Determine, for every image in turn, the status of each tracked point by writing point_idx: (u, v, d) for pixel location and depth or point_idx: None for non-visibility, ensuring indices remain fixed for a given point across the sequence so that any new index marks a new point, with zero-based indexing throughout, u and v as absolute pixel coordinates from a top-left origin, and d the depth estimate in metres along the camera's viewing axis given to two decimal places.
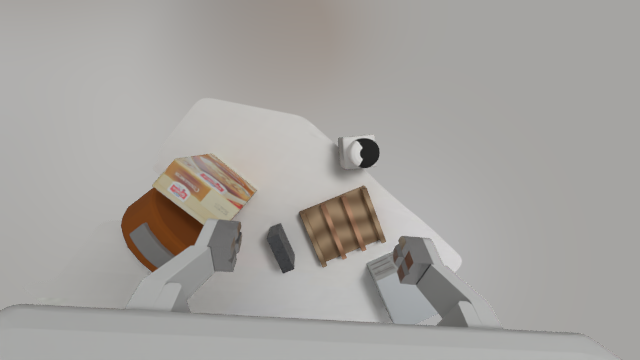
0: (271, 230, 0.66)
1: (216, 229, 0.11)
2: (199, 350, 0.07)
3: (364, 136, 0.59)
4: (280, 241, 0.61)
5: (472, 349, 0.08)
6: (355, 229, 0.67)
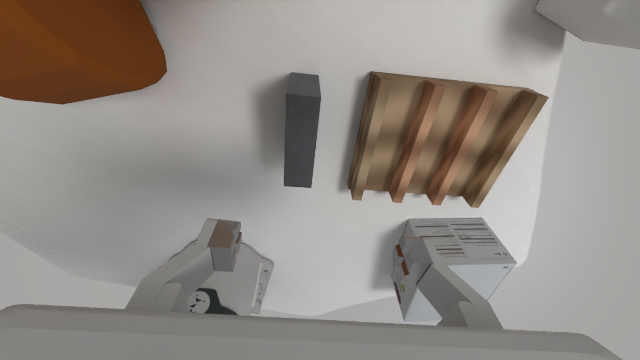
0: (294, 78, 0.26)
1: (216, 229, 0.11)
2: (199, 350, 0.07)
3: None
4: (315, 118, 0.23)
5: (472, 349, 0.08)
6: (454, 166, 0.32)
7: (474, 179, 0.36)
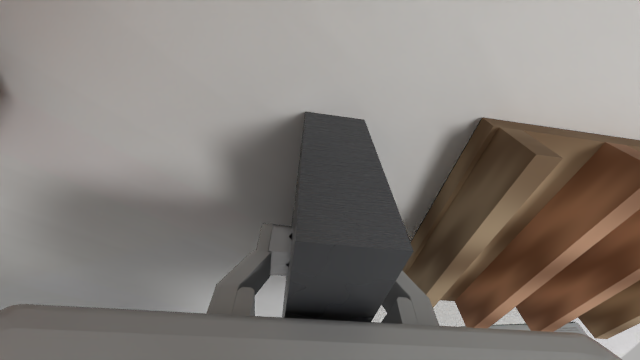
0: (315, 138, 0.10)
1: (273, 234, 0.11)
2: (199, 350, 0.07)
3: None
4: (379, 291, 0.07)
5: (472, 349, 0.08)
6: (604, 294, 0.17)
7: None
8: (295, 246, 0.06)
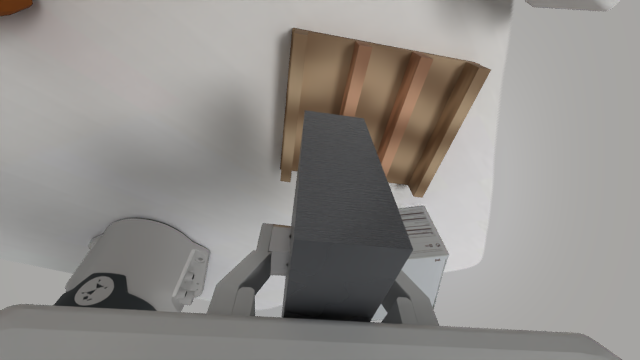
0: (314, 136, 0.10)
1: (273, 234, 0.11)
2: (200, 350, 0.07)
3: None
4: (379, 290, 0.07)
5: (472, 349, 0.08)
6: (391, 147, 0.28)
7: (418, 166, 0.32)
8: (293, 244, 0.06)
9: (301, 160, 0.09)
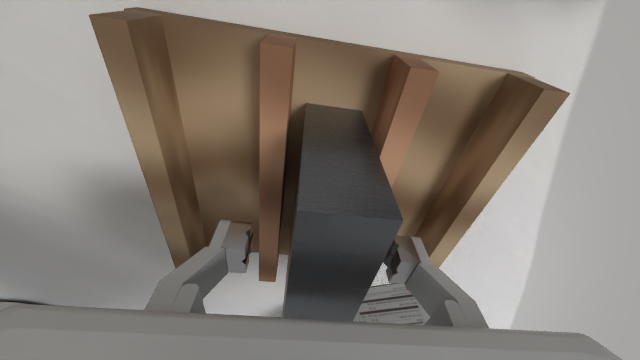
0: (315, 126, 0.11)
1: (229, 230, 0.11)
2: (199, 350, 0.07)
3: None
4: (374, 261, 0.08)
5: (472, 349, 0.08)
6: None
7: None
8: (297, 215, 0.07)
9: (303, 146, 0.10)
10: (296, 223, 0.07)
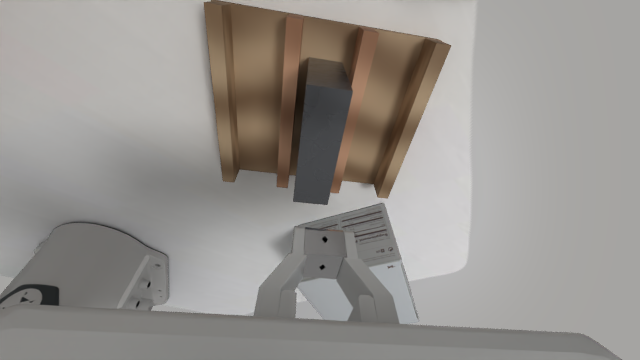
0: (314, 65, 0.20)
1: (306, 237, 0.11)
2: (199, 350, 0.07)
3: None
4: (342, 119, 0.17)
5: (472, 349, 0.08)
6: (343, 141, 0.24)
7: (382, 162, 0.28)
8: (306, 87, 0.16)
9: (308, 70, 0.18)
10: (306, 92, 0.16)
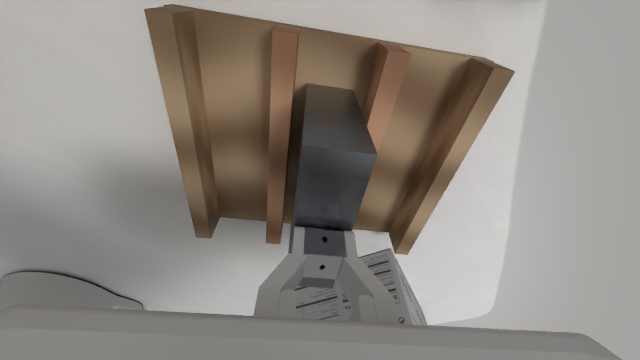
0: (314, 98, 0.14)
1: (306, 237, 0.11)
2: (199, 350, 0.07)
3: None
4: (358, 192, 0.11)
5: (472, 349, 0.08)
6: None
7: (401, 210, 0.22)
8: (302, 150, 0.10)
9: (305, 110, 0.12)
10: (301, 156, 0.10)
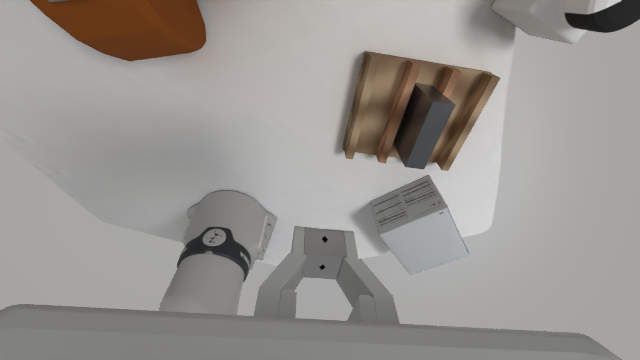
0: (422, 88, 0.35)
1: (306, 237, 0.11)
2: (199, 350, 0.07)
3: None
4: (446, 119, 0.33)
5: (472, 349, 0.08)
6: None
7: (445, 147, 0.44)
8: (432, 102, 0.31)
9: (423, 92, 0.34)
10: (431, 105, 0.31)
